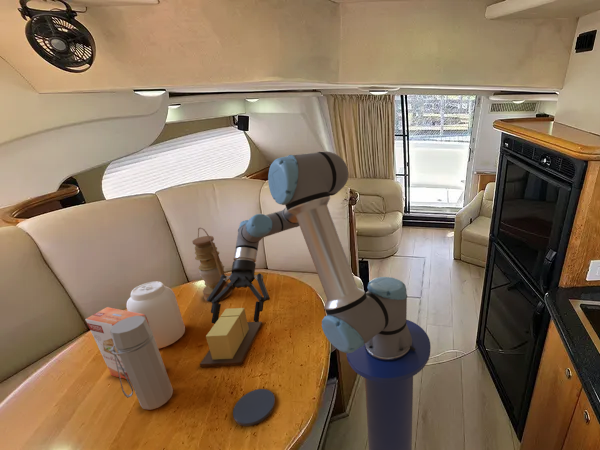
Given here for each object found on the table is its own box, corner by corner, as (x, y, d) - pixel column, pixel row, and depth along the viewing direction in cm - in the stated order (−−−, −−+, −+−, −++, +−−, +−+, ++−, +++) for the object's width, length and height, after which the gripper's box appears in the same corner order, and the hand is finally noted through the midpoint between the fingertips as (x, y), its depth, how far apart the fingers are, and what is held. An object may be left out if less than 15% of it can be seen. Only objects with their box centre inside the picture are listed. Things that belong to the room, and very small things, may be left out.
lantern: (242, 290, 133) (228, 224, 122) (224, 304, 124) (207, 234, 113) (213, 285, 137) (196, 221, 126) (193, 299, 127) (173, 231, 116)
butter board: (262, 324, 113) (261, 321, 112) (241, 364, 95) (240, 361, 95) (228, 325, 112) (227, 322, 112) (200, 367, 94) (199, 364, 94)
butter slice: (249, 329, 108) (244, 307, 105) (244, 337, 105) (239, 315, 101) (231, 330, 108) (225, 308, 105) (226, 338, 104) (220, 316, 101)
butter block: (244, 338, 104) (239, 316, 101) (232, 358, 96) (226, 335, 93) (225, 339, 104) (219, 316, 101) (212, 359, 96) (205, 336, 92)
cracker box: (109, 377, 91) (83, 318, 83) (131, 361, 96) (107, 305, 89) (147, 387, 88) (123, 327, 80) (167, 370, 93) (146, 312, 86)
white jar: (131, 346, 103) (111, 294, 95) (168, 322, 114) (152, 274, 106) (159, 354, 99) (140, 301, 92) (194, 329, 110) (179, 280, 103)
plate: (281, 393, 86) (281, 390, 86) (263, 428, 77) (262, 425, 76) (247, 390, 87) (246, 387, 86) (225, 424, 78) (224, 421, 77)
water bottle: (172, 382, 89) (146, 310, 80) (176, 401, 83) (148, 326, 74) (131, 401, 84) (98, 325, 74) (132, 422, 78) (96, 343, 69)
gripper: (282, 263, 118) (276, 322, 109) (214, 265, 116) (202, 325, 107) (276, 257, 111) (269, 319, 102) (203, 259, 109) (190, 322, 101)
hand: (235, 322), depth 105 cm, fingers open, 13 cm apart
